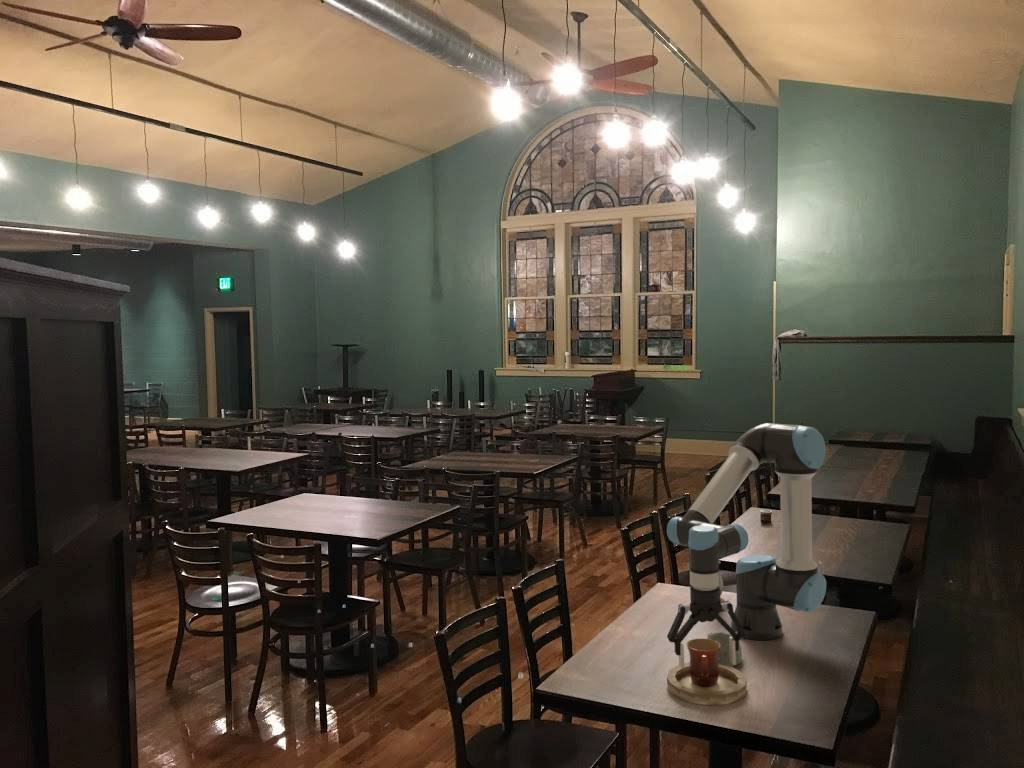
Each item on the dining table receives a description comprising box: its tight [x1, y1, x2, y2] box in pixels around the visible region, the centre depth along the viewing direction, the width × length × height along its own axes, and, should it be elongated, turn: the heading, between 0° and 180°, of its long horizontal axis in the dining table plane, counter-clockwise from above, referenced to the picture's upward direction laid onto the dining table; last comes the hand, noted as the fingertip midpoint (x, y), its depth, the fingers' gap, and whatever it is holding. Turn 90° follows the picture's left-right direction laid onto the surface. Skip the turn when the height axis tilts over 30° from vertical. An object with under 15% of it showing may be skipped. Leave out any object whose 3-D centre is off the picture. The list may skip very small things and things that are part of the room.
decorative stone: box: [706, 631, 743, 668], centre depth 236 cm, size 13×11×10 cm
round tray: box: [666, 661, 748, 707], centre depth 220 cm, size 20×20×3 cm
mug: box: [686, 637, 721, 687], centre depth 220 cm, size 12×9×10 cm
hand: (707, 664), depth 220 cm, fingers open, 13 cm apart
